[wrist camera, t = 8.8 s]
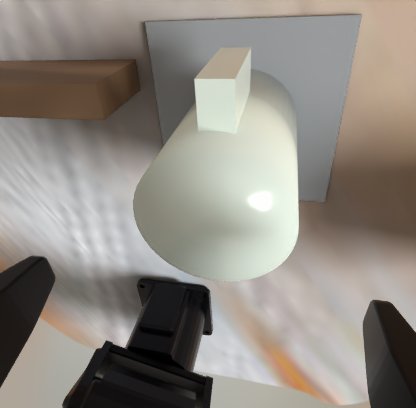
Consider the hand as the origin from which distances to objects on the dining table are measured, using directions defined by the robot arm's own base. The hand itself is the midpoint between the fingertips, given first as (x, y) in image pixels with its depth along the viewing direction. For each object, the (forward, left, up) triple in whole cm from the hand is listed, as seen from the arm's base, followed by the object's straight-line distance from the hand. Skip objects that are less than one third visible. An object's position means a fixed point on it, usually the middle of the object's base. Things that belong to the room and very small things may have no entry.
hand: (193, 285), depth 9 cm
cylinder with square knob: (0, 0, -12) cm, 12 cm away
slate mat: (0, 0, -12) cm, 12 cm away
